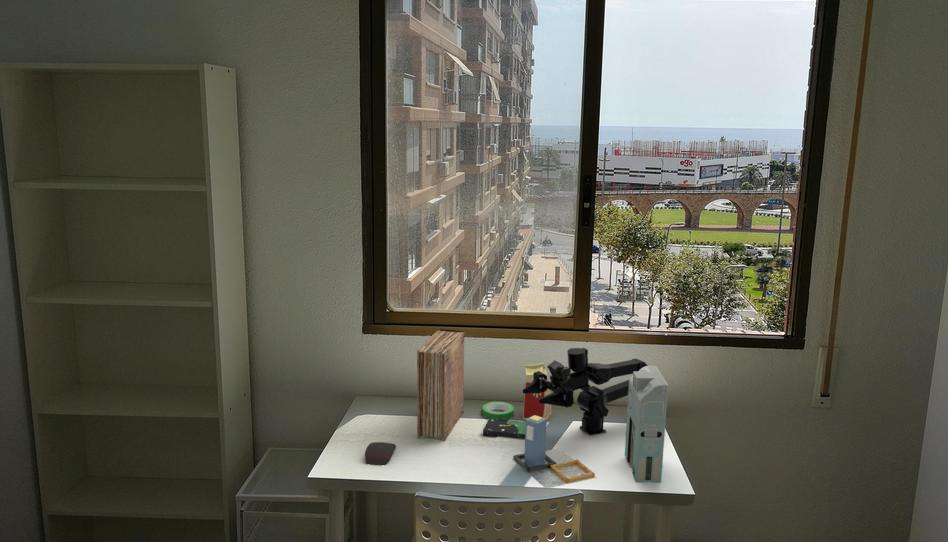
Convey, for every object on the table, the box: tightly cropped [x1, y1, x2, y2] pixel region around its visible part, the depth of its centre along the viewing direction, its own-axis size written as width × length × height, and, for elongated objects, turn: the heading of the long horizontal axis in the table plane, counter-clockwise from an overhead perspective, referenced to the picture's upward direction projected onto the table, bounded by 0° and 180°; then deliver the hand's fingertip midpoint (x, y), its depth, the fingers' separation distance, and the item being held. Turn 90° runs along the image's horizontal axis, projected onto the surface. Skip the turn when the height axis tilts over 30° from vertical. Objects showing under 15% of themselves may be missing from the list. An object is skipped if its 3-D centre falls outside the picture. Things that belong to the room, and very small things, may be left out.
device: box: [624, 365, 669, 483], centre depth 231 cm, size 16×8×30 cm, turn 0°
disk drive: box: [482, 418, 526, 440], centre depth 259 cm, size 10×3×15 cm
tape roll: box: [482, 401, 515, 420], centre depth 274 cm, size 11×11×3 cm
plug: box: [524, 415, 548, 466], centre depth 235 cm, size 6×4×14 cm
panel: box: [511, 448, 597, 489], centre depth 234 cm, size 17×21×2 cm
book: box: [416, 328, 465, 442], centre depth 261 cm, size 25×9×30 cm, turn 166°
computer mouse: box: [364, 441, 397, 466], centre depth 241 cm, size 8×14×4 cm, turn 173°
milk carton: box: [522, 362, 552, 421], centre depth 271 cm, size 9×9×20 cm
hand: (530, 396), depth 246 cm, fingers open, 9 cm apart
